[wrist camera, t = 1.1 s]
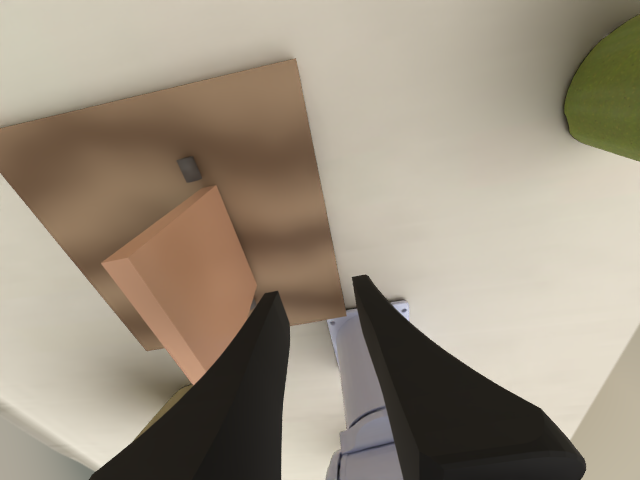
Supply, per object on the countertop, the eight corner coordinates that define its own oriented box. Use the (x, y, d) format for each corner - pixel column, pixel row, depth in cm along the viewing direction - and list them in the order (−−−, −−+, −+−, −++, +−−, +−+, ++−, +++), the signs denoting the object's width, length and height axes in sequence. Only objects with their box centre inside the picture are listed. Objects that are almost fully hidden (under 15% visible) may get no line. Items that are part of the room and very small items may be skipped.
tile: (257, 285, 20) (224, 398, 12) (243, 287, 20) (201, 401, 12) (216, 184, 16) (128, 257, 8) (198, 188, 16) (95, 264, 8)
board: (345, 308, 24) (348, 324, 22) (152, 342, 25) (140, 360, 23) (296, 61, 14) (294, 54, 13) (-11, 134, 15) (-52, 137, 14)
